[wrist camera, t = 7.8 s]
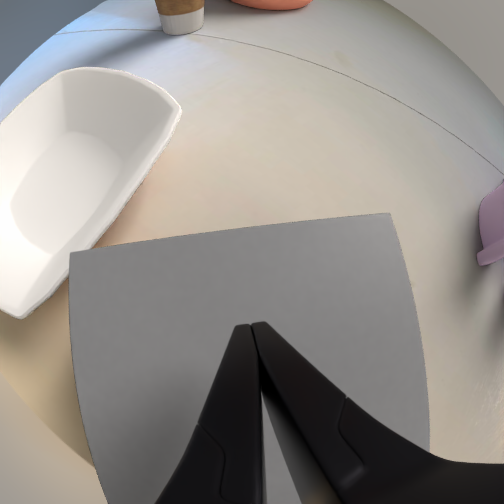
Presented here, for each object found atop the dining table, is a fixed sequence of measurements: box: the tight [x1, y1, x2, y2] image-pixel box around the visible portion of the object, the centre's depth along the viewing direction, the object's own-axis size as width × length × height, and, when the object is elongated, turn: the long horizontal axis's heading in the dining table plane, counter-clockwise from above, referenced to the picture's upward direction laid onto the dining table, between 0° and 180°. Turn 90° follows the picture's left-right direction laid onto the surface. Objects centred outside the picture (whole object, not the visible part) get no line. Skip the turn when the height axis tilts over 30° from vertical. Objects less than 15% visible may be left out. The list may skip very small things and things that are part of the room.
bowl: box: [0, 67, 182, 319], centre depth 18 cm, size 22×22×5 cm
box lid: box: [69, 213, 430, 504], centre depth 10 cm, size 12×15×1 cm
